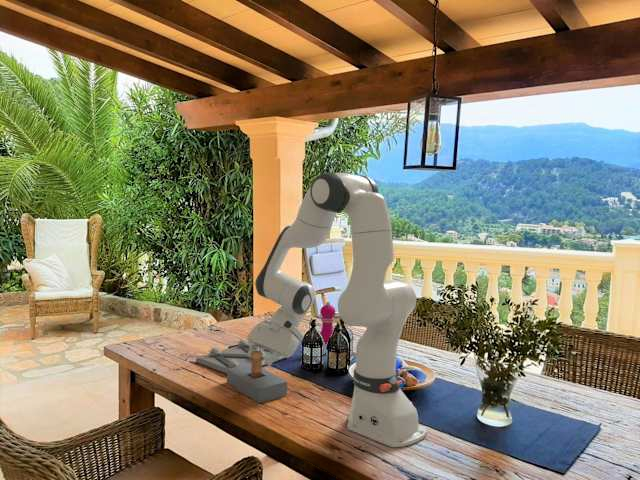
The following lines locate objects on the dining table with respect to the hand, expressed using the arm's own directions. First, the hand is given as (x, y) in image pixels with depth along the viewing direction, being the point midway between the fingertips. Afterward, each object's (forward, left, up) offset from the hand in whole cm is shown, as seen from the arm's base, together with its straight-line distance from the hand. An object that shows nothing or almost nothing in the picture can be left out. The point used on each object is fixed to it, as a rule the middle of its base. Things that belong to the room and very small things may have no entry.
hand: (257, 360), depth 162 cm
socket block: (0, +1, -9) cm, 9 cm away
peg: (0, +1, -9) cm, 9 cm away
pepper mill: (+17, -42, -9) cm, 47 cm away
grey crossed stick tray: (+26, -11, -10) cm, 30 cm away
